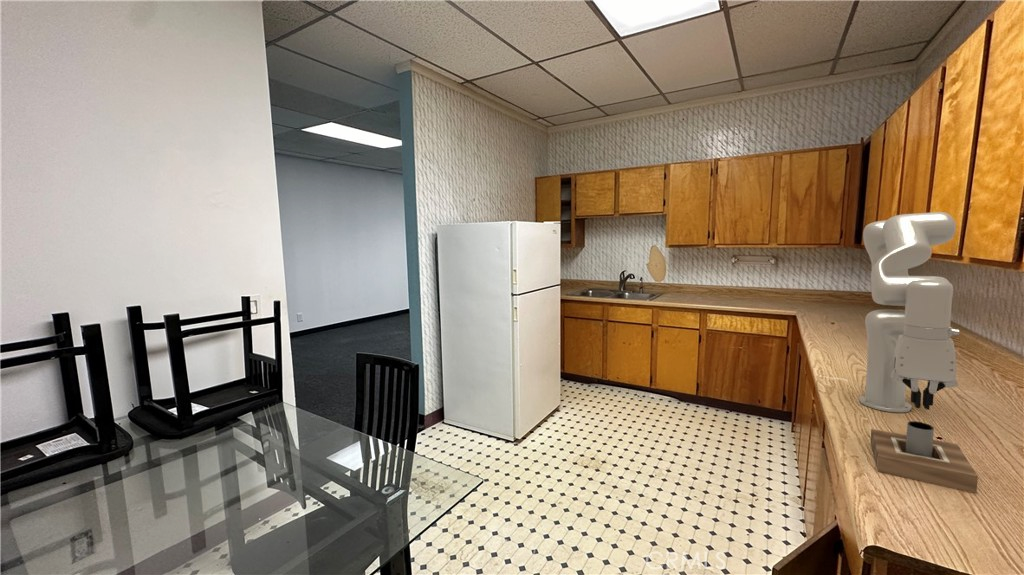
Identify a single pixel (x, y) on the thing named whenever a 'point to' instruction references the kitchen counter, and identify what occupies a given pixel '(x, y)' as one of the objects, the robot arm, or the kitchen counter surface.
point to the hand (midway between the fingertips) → (921, 406)
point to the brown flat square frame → (923, 462)
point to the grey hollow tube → (919, 439)
